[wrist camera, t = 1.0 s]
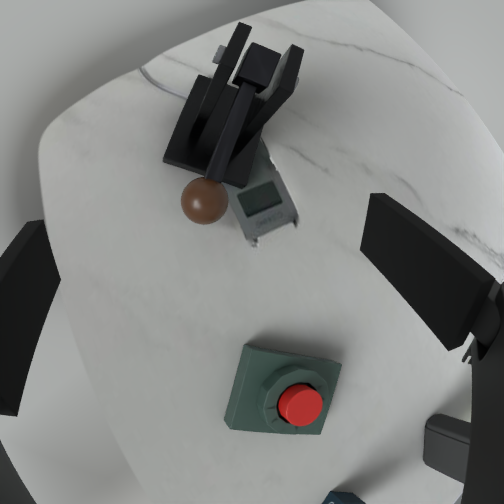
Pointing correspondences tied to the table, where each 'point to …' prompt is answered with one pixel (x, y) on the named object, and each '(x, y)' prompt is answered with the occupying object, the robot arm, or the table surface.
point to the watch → (342, 498)
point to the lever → (229, 137)
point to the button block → (277, 389)
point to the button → (300, 405)
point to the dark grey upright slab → (447, 445)
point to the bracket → (217, 108)
